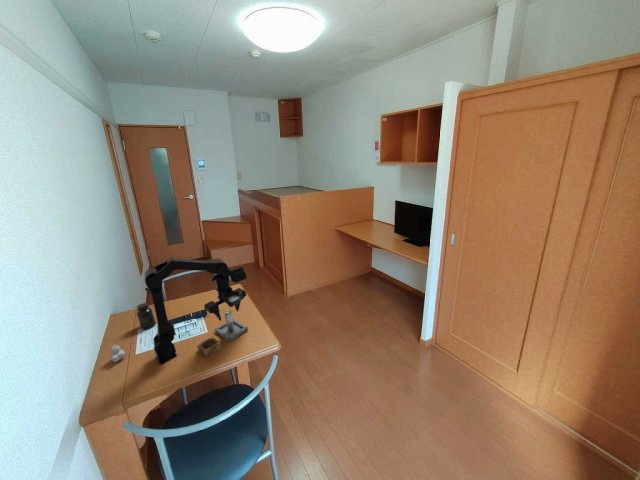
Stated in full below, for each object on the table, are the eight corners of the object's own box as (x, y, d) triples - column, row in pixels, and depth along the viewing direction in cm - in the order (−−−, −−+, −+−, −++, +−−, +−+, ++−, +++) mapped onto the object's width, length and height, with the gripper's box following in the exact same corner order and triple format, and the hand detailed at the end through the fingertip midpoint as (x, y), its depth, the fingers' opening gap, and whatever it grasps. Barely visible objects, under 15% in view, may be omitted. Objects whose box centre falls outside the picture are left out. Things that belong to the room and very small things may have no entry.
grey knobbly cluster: (128, 353, 123) (123, 338, 120) (123, 363, 117) (117, 347, 114) (114, 356, 121) (108, 341, 119) (108, 367, 115) (102, 351, 113)
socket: (206, 357, 117) (204, 351, 116) (198, 350, 122) (196, 344, 121) (221, 348, 122) (220, 342, 121) (212, 341, 127) (211, 336, 126)
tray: (229, 342, 126) (228, 338, 125) (215, 332, 133) (214, 328, 133) (247, 330, 133) (247, 327, 132) (233, 322, 140) (232, 318, 140)
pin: (230, 333, 130) (226, 314, 127) (226, 330, 133) (222, 312, 129) (236, 329, 133) (232, 311, 130) (232, 327, 135) (228, 309, 132)
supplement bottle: (159, 321, 145) (153, 301, 141) (150, 330, 138) (143, 309, 134) (146, 321, 145) (140, 301, 141) (137, 329, 139) (130, 309, 135)
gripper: (213, 300, 114) (220, 332, 119) (251, 282, 127) (255, 312, 132) (200, 292, 121) (207, 323, 126) (237, 276, 134) (242, 304, 139)
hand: (229, 315), depth 130 cm, fingers open, 9 cm apart
